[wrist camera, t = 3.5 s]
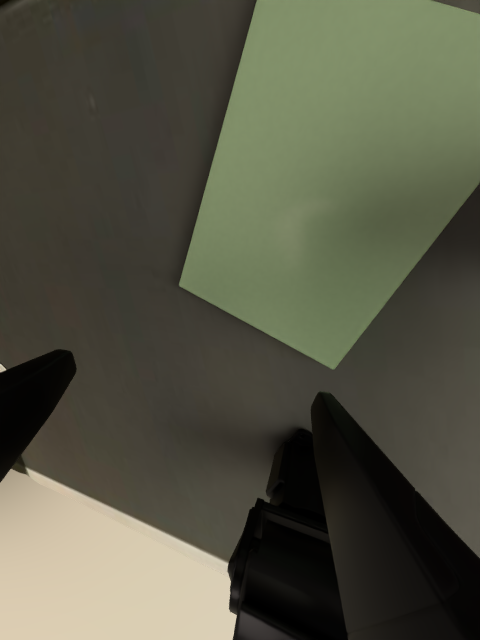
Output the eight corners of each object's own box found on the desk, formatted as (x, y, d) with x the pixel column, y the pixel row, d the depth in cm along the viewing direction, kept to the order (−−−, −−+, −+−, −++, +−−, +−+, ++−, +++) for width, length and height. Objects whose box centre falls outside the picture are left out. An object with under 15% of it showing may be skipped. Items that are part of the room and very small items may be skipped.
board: (555, 67, 10) (588, 44, 9) (333, 360, 19) (333, 370, 17) (275, -18, 12) (269, -47, 11) (187, 282, 21) (178, 285, 19)
